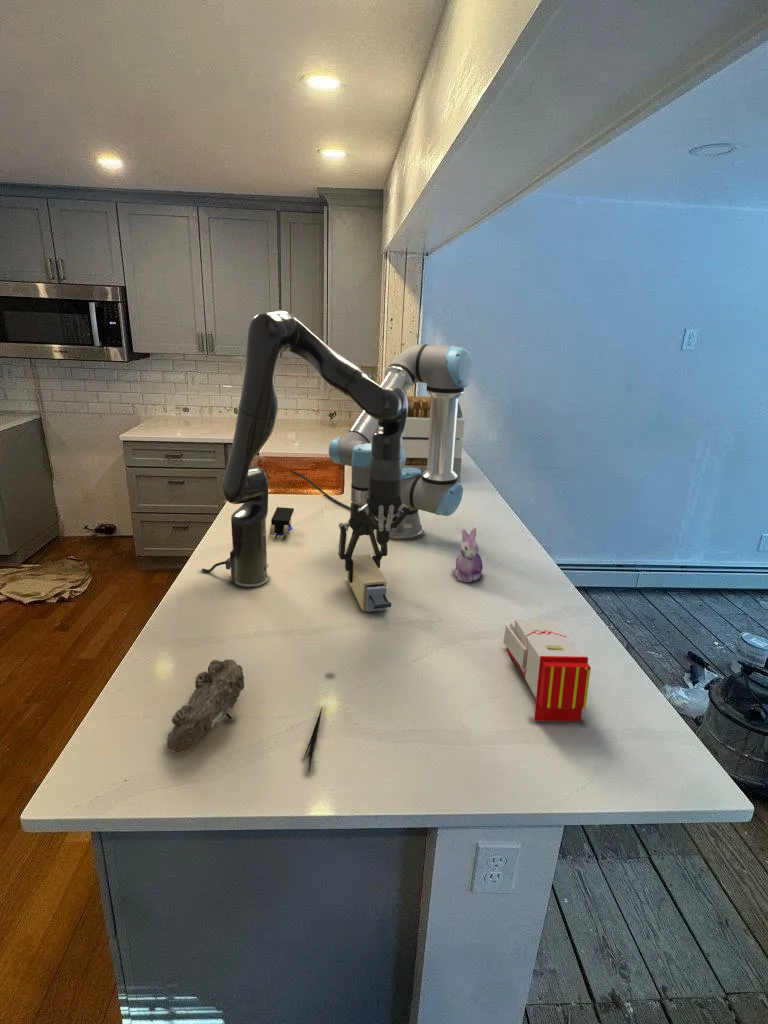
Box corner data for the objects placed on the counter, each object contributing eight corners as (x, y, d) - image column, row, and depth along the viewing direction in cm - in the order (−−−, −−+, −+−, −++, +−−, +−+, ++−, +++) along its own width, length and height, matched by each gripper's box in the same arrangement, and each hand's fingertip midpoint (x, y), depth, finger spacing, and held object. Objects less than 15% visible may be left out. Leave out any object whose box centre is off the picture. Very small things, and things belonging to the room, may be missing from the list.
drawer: (391, 621, 142) (392, 598, 140) (372, 623, 141) (373, 600, 139) (369, 582, 162) (370, 561, 160) (352, 583, 161) (353, 562, 159)
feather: (331, 679, 122) (336, 673, 122) (307, 777, 96) (313, 769, 95) (324, 675, 122) (329, 669, 121) (298, 772, 95) (304, 764, 95)
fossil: (192, 660, 117) (244, 628, 112) (224, 691, 120) (276, 661, 115) (142, 746, 98) (202, 712, 93) (182, 779, 101) (242, 748, 96)
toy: (549, 604, 136) (599, 663, 106) (544, 656, 138) (591, 727, 109) (499, 603, 135) (535, 662, 106) (495, 655, 138) (529, 726, 109)
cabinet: (385, 609, 150) (386, 581, 147) (362, 611, 148) (363, 583, 145) (368, 579, 165) (369, 554, 162) (348, 581, 164) (349, 555, 161)
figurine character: (289, 545, 189) (295, 524, 202) (288, 525, 186) (294, 505, 199) (269, 545, 189) (276, 524, 202) (268, 525, 185) (275, 505, 199)
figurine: (465, 585, 164) (469, 538, 159) (445, 571, 172) (449, 525, 167) (491, 580, 168) (496, 533, 163) (471, 566, 176) (475, 521, 171)
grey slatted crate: (382, 463, 289) (386, 382, 275) (445, 464, 293) (451, 384, 279) (390, 482, 257) (394, 392, 243) (460, 483, 261) (468, 394, 247)
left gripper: (361, 481, 126) (359, 552, 132) (417, 478, 130) (413, 548, 136) (353, 471, 133) (352, 539, 139) (407, 469, 137) (403, 536, 142)
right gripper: (332, 508, 146) (331, 588, 154) (402, 505, 152) (398, 582, 159) (327, 499, 153) (326, 576, 161) (394, 496, 158) (390, 571, 166)
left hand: (382, 543), depth 137 cm, fingers closed
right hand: (362, 579), depth 160 cm, fingers closed on cabinet, 6 cm apart
